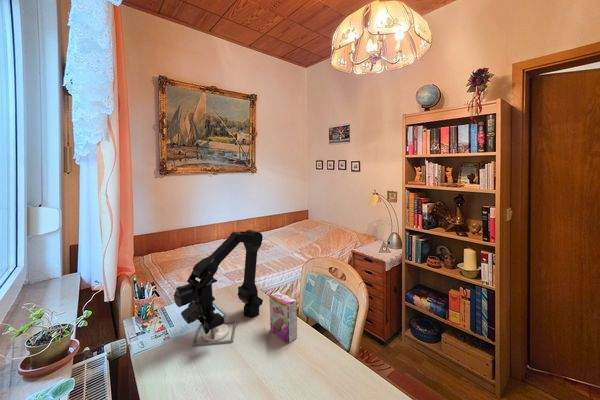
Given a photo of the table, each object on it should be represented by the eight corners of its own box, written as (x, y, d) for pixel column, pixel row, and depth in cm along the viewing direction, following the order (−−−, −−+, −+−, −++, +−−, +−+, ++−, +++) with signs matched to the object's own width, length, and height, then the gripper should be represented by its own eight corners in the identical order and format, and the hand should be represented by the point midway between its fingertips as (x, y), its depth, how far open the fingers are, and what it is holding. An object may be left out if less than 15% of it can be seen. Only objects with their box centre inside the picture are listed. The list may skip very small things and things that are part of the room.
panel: (236, 324, 114) (236, 320, 114) (233, 345, 101) (232, 340, 101) (200, 327, 112) (200, 323, 112) (192, 349, 99) (191, 344, 99)
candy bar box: (269, 331, 109) (268, 294, 107) (278, 326, 113) (278, 290, 110) (288, 344, 102) (288, 304, 99) (297, 338, 105) (297, 299, 103)
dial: (206, 326, 111) (205, 315, 110) (230, 325, 112) (229, 313, 111) (199, 342, 101) (198, 330, 100) (226, 341, 102) (225, 328, 101)
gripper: (173, 294, 102) (176, 331, 104) (194, 314, 89) (196, 356, 91) (201, 285, 109) (203, 319, 112) (224, 301, 96) (226, 341, 99)
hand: (206, 333), depth 103 cm, fingers closed
